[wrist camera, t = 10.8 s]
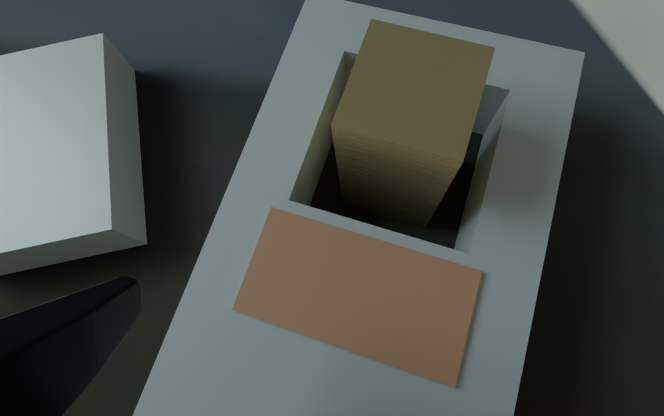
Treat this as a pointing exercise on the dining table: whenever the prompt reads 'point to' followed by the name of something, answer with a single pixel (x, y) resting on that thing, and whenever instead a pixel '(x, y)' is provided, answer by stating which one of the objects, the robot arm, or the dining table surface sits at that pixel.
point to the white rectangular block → (68, 154)
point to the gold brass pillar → (406, 119)
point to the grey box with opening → (369, 252)
